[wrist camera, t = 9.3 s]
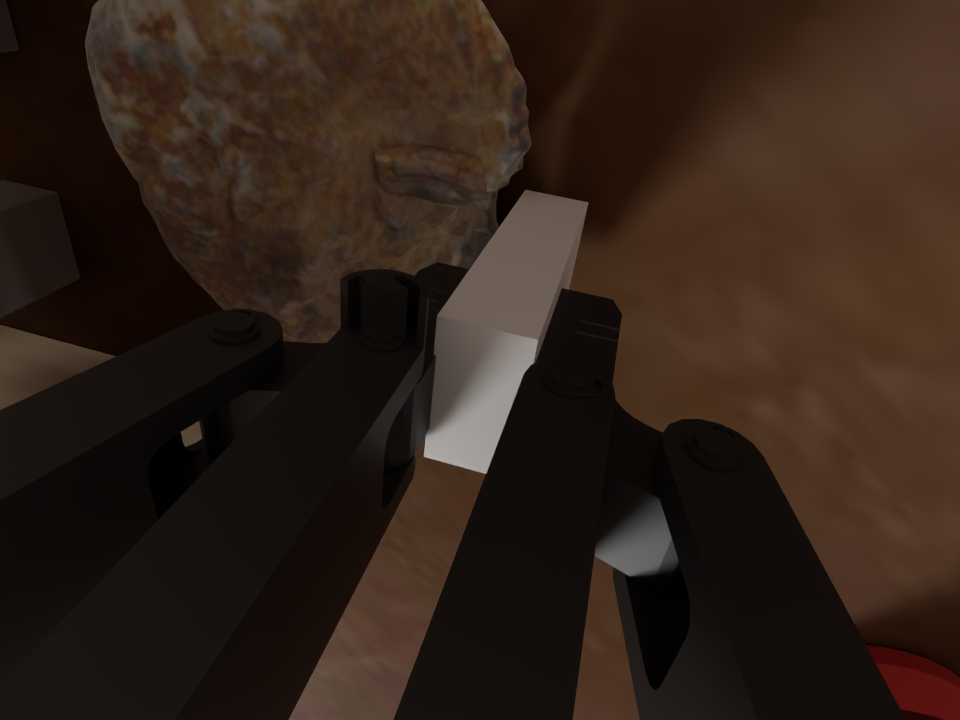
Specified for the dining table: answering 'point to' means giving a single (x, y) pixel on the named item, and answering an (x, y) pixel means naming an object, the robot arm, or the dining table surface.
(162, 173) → the oyster shell
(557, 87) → the dining table surface
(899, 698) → the canned food
